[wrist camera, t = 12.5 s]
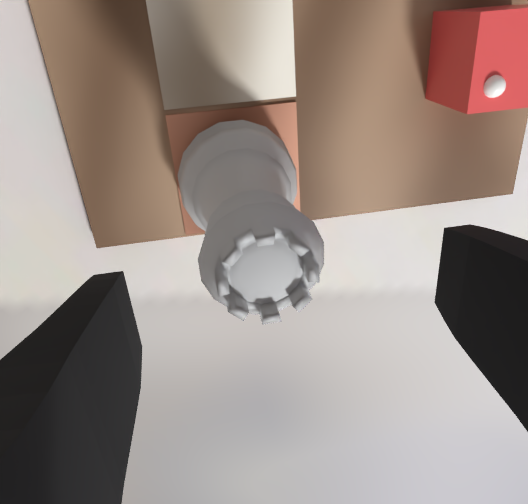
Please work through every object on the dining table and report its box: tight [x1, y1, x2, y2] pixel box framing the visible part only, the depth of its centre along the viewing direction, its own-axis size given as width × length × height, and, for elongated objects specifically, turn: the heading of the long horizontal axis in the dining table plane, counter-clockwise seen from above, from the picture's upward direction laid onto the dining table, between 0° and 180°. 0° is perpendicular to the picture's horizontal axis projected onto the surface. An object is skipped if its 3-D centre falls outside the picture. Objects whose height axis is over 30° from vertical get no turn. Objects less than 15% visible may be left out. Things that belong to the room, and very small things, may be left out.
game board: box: [28, 0, 528, 248], centre depth 17 cm, size 18×10×1 cm, turn 94°
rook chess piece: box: [178, 120, 324, 324], centre depth 14 cm, size 4×4×8 cm
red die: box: [425, 4, 528, 114], centre depth 16 cm, size 3×3×3 cm
